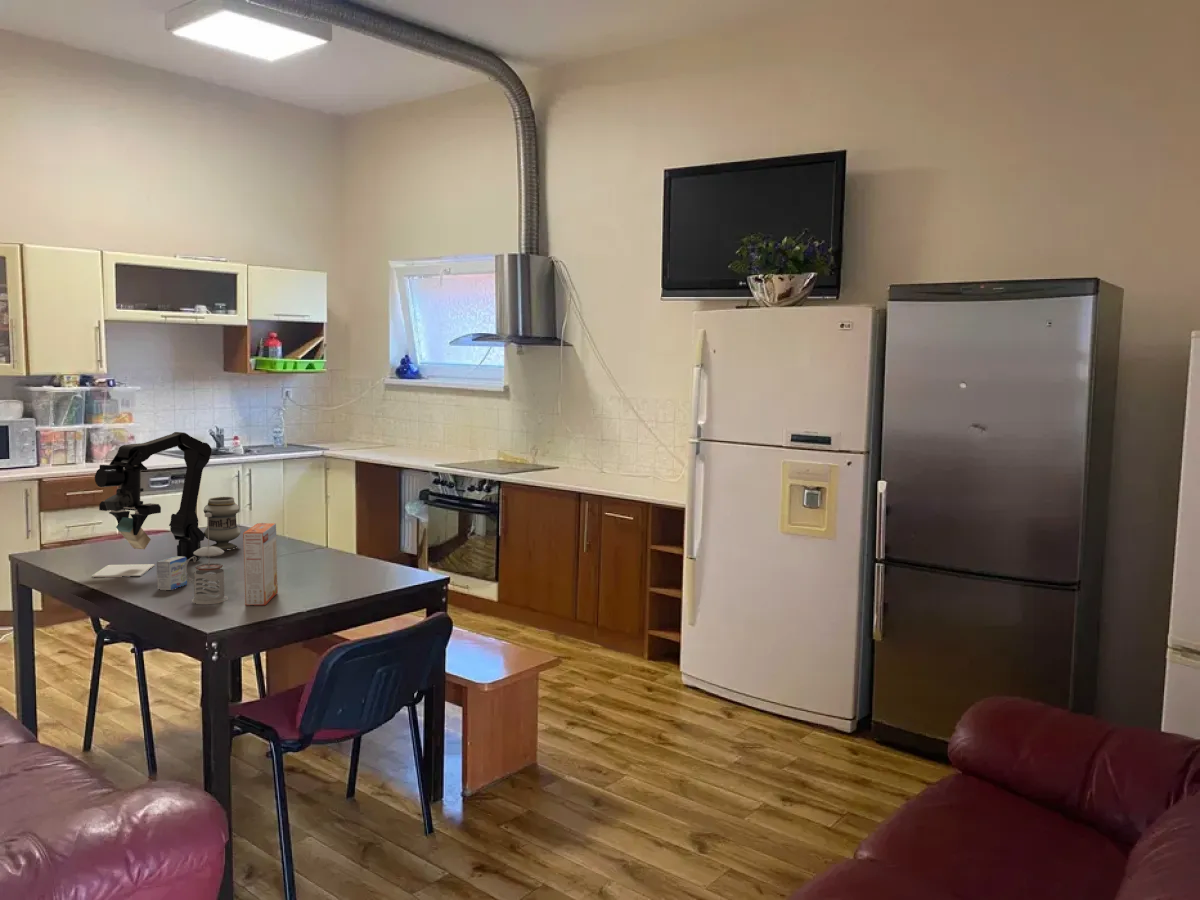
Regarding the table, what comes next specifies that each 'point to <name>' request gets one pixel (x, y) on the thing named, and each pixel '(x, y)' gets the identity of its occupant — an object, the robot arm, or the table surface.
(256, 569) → the cracker box
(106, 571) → the cream square tile
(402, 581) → the table surface
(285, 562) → the table surface
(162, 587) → the medicine box
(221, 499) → the apothecary jar
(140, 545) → the birch block
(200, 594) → the french press
